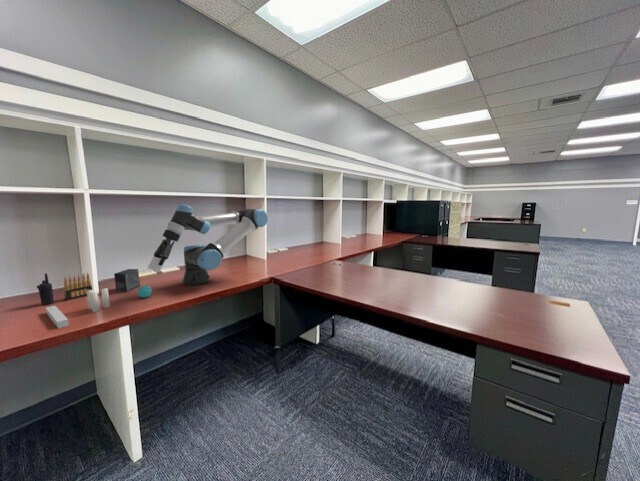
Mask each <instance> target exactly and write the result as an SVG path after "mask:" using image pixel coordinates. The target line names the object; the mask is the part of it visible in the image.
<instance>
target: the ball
mask: <svg viewBox="0 0 640 481" xmlns="http://www.w3.org/2000/svg"><path fill="white" fill-rule="evenodd" d="M151 294H152V287H151V286H148V285H142V286H139V287H138V289H137V295H138V297H140V298H144V299H145V298H148V297H150V295H151Z"/></svg>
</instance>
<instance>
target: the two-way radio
mask: <svg viewBox="0 0 640 481" xmlns="http://www.w3.org/2000/svg"><path fill="white" fill-rule="evenodd" d="M49 282H50V281H49V277H48V273H47V272H45V273H44V279H43V280H42V281H41V283H40V284H38V285H36V288H37V290H38V292H39V293H38V294H39V298H40V303H41V305H51V304H54V303H55V300H54V291H53V290H54V289H53V285H52V283H49Z"/></svg>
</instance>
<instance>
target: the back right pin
mask: <svg viewBox="0 0 640 481" xmlns="http://www.w3.org/2000/svg"><path fill="white" fill-rule="evenodd" d="M92 292H95V290H94V289H92V290H88V291H87V296H86V297H87V304H88V305H87V306H88V310H91V311H92V307H91V298H90V293H92Z"/></svg>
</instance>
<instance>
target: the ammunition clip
mask: <svg viewBox="0 0 640 481" xmlns="http://www.w3.org/2000/svg"><path fill="white" fill-rule="evenodd" d="M68 277H69V278H67V276H65V277H64V279H63V281H64V285H63V286H64V301H66V302H67V301H71V299H72V300H76V299H80V297H81V298H85V297H87V291H88V290H93V286H92V280H91V277H90V274H89V272H87V273H86V275H85V273H82V274H81V275H80V274H78V275H77V276H76V275H75V274H73V278H72V276H71V275H69V276H68Z"/></svg>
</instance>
